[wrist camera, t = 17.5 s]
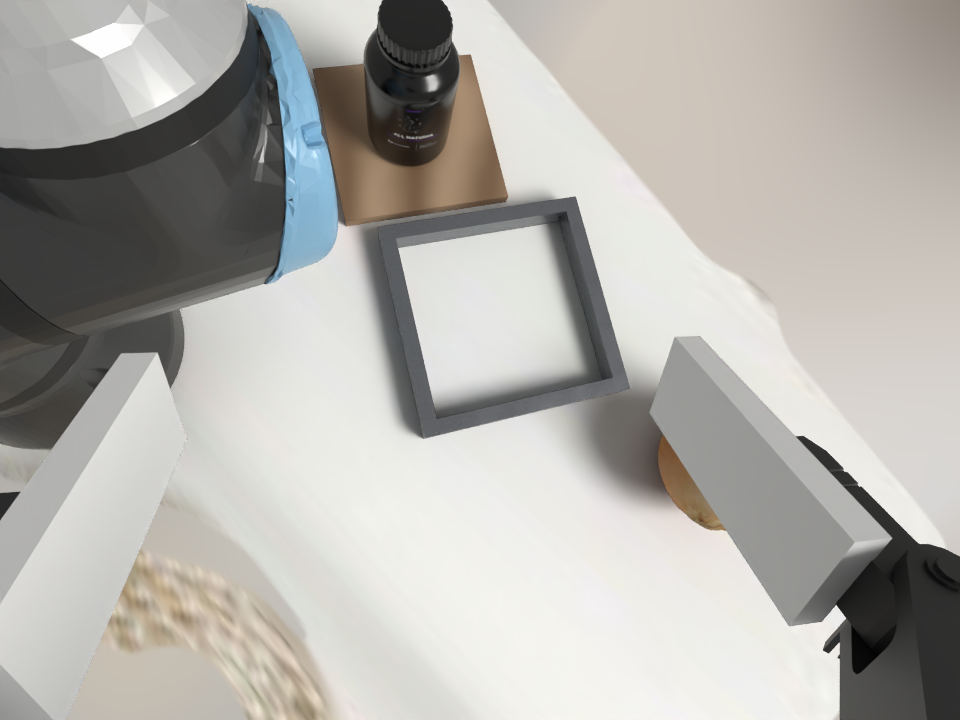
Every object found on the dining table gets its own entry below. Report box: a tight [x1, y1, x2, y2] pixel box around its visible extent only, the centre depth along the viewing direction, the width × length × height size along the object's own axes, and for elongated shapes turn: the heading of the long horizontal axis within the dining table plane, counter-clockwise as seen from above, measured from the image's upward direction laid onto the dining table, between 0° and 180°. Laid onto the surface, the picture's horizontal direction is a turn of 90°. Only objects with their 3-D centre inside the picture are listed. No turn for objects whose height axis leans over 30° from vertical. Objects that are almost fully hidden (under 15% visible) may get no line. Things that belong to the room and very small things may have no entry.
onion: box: [658, 435, 726, 531], centre depth 39 cm, size 10×10×10 cm
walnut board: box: [313, 55, 508, 226], centre depth 44 cm, size 14×14×1 cm
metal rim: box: [378, 197, 630, 439], centre depth 42 cm, size 17×17×2 cm
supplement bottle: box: [364, 0, 460, 167], centre depth 38 cm, size 7×7×12 cm
